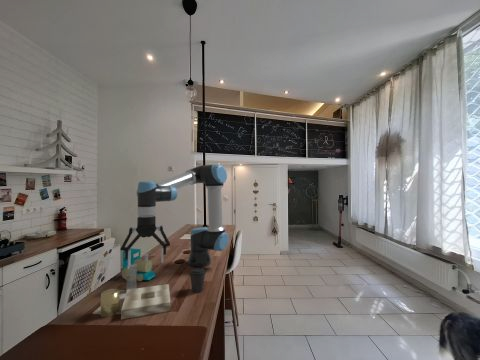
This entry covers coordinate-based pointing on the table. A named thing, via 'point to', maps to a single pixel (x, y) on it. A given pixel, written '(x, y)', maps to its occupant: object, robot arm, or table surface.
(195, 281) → the coffee cup
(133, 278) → the square bit
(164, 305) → the socket board
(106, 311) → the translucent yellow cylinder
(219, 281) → the table surface
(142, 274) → the toy train
